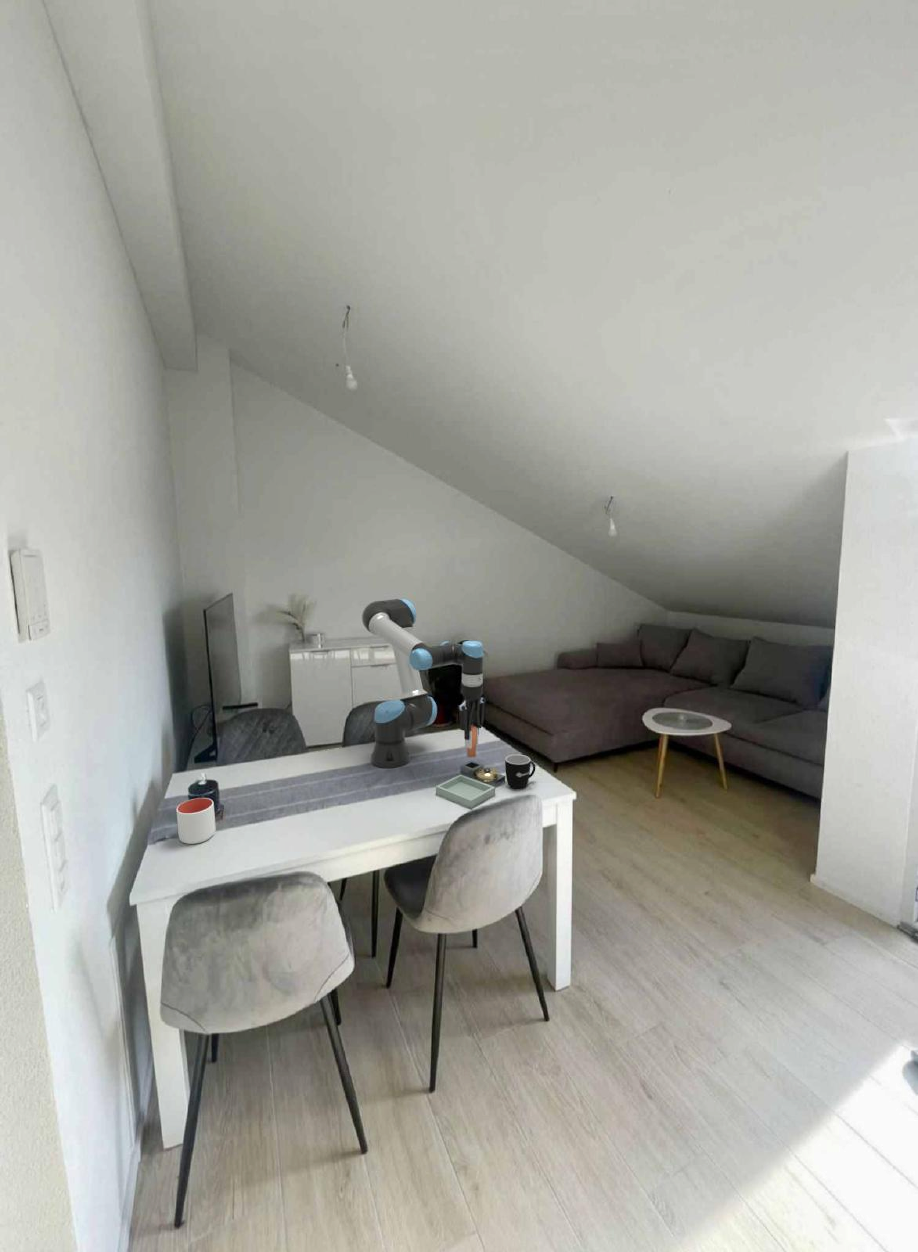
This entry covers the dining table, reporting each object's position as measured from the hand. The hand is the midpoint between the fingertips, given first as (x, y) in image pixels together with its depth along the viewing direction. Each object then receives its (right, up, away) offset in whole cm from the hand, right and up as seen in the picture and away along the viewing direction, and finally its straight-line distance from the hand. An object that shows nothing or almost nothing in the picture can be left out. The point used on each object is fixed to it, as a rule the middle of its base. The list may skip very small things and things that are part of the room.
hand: (471, 745), depth 205 cm
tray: (-2, -15, -12) cm, 19 cm away
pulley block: (+3, -13, -1) cm, 13 cm away
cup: (-83, -19, -38) cm, 93 cm away
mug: (+18, -13, -4) cm, 23 cm away
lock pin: (0, -4, +1) cm, 4 cm away
